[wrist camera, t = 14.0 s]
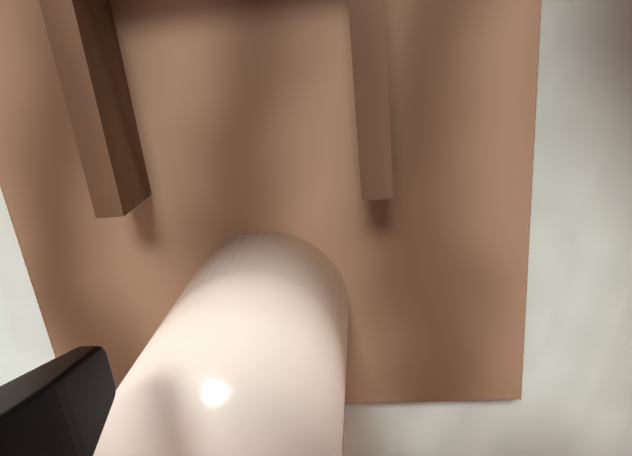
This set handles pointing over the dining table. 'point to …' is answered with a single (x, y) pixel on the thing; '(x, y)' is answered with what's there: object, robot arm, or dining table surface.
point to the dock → (281, 169)
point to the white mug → (242, 360)
